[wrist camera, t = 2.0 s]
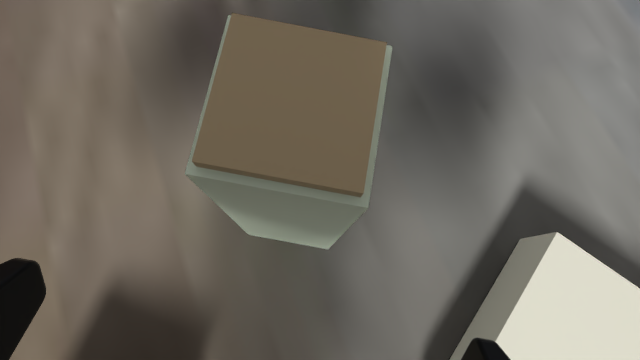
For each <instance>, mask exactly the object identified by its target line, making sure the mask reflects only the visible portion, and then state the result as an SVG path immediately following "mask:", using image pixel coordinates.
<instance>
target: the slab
mask: <svg viewBox="0 0 640 360" xmlns="http://www.w3.org/2000/svg"><path fill="white" fill-rule="evenodd" d="M474 338H483V339H489V340H493V341H495V342H496V343H497V344H498V345H499V346H500V347H501V348H502V350H503V351H504V352H505V353H506V354H507V356H508V357H509V358H510V359H511V360H640V288H638V287H637V286H635V285H634V284H632V283H631V282H629V281H628V280H626V279H625V278H624V277H622V276H621V275H619V274H618V273H616V272H615V271H613V270H612V269H610V268H609V267H608V266H606V265H605V264H603V263H602V262H600V261H599V260H597V259H596V258H594V257H593V256H592V255H590V254H589V253H587V252H586V251H584V250H583V249H581V248H580V247H578V246H577V245H576V244H574V243H573V242H571V241H570V240H568V239H567V238H565V237H564V236H562V235H561V234H560V233H558V232H554V233H549V234H543V235H538V236H533V237H527V238H522V239H520V240H519V242H518V244H517V245H516V247H515V249H514V250H513V252H512V254H511V256H510V257H509V259H508V261H507V262H506V264H505V266H504V268H503V269H502V271H501V273H500V274H499V276H498V278H497V279H496V281H495V283H494V285H493V286H492V288H491V290H490V291H489V293H488V295H487V297H486V298H485V300H484V302H483V303H482V305H481V307H480V308H479V310H478V312H477V314H476V315H475V317H474V319H473V320H472V322H471V324H470V326H469V327H468V329H467V331H466V332H465V334H464V336H463V337H462V339H461V341H460V343H459V344H458V346H457V348H456V349H455V351H454V353H453V355H452V356H451V358H450V360H461V358H462V357H463V355H464V353H465V351H466V349H467V347H468V346H469V344H470V342H471V341H472V339H474Z"/></svg>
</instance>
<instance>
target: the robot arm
mask: <svg viewBox="0 0 640 360" xmlns="http://www.w3.org/2000/svg"><path fill="white" fill-rule="evenodd" d="M45 295H46V286H45V283H44V279H43V276H42V272H41V269H40V266H39V264H38V263H37V262H36V261H33V260H27V259H21V258H14V259H11V260H8V261H6V262H4V263H2V264H0V360H9V359H10V357H11V355H12V354H13V352H14V350H15V348H16V347H17V345H18V343H19V342H20V340H21V338H22V337H23V335H24V333H25V331H26V330H27V328H28V326H29V325H30V323H31V321H32V320H33V318H34V316H35V314H36V313H37V311H38V309H39V308H40V306H41V304H42V302H43V300H44V298H45ZM461 360H511V359H510V358H509V357H508V356H507V354H506V353H505V352H504V351H503V350H502V348H501V347H500V346H499V345H498V344H497V343H496V342H495V341H493V340H489V339H483V338H474V339H472V341H471V342H470V344H469V346H468V347H467V349H466V351H465V353H464V355H463V357H462V358H461Z"/></svg>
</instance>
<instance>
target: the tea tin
mask: <svg viewBox="0 0 640 360" xmlns="http://www.w3.org/2000/svg"><path fill="white" fill-rule="evenodd" d="M392 47H393V46H388V45H387V42H382V41H377V40H372V39H367V38H361V37H356V36H351V35H346V34H341V33H335V32H330V31H325V30H320V29H314V28H309V27H304V26H299V25H293V24H288V23H283V22H278V21H272V20H267V19H262V18H257V17H251V16H246V15H241V14H236V13H232V15H228V18H227V21H226V25H225V29H224V32H223V36H222V40H221V43H220V47H219V51H218V54H217V58H216V62H215V65H214V69H213V73H212V76H211V80H210V84H209V87H208V91H207V94H206V98H205V102H204V105H203V109H202V113H201V116H200V120H199V124H198V127H197V131H196V135H195V138H194V142H193V146H192V149H191V153H190V157H189V160H188V164H187V167H186V171H185V174H186V175H187V176H188V177H189V178H190V179H191V180H192V181H193V182H194V183H195V184H196V185H197V186H198V187H199V188H200V189H201V190H202V191H203V192H204V193H205V194H206V195H207V196H209V197H210V198H211V199H212V200H213V201H214V202H215V203H216V204H217V205H218V206H219V207H220V208H221V209H222V210H223V211H224V212H225V213H226V214H227V215H228V216H229V217H230V218H231V219H233V220H234V221H235V222H236V223H237V224H238V225H239V226H240V227H241V228H242V229H243V230H244V231H245V232H246V233H247V234H248V235H253V236H258V237H264V238H269V239H274V240H280V241H285V242H291V243H296V244H301V245H307V246H312V247H318V248H323V249H329V248H330V247H331V246H332V245H333V244H334V243H335V242H336V241H337V240H338V239H339V238H340V237H341V236H342V235H343V234H344V233H345V232H346V230H347V229H348V228H349V227H350V226H351V225H352V224H353V223H354V222H355V221H356V220H357V219H358V218H359V217H360V216H361V215H362V214H363V213H364V212H365V211H366V210H367V209H368V207H369V200H370V194H371V187H372V180H373V174H374V167H375V160H376V154H377V147H378V140H379V134H380V127H381V120H382V114H383V107H384V100H385V94H386V87H387V80H388V74H389V67H390V60H391V54H392Z"/></svg>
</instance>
